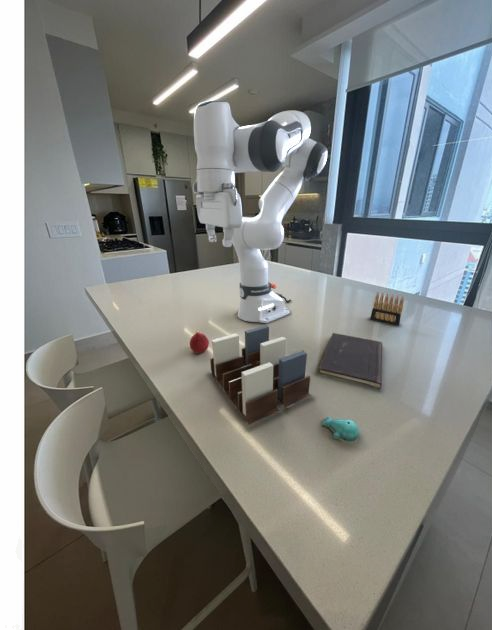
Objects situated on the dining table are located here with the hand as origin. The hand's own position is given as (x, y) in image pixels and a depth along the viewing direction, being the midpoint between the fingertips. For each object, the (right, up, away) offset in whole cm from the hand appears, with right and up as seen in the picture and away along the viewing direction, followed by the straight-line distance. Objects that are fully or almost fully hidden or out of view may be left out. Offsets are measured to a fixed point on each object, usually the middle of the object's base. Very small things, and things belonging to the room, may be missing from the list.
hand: (219, 244), depth 68 cm
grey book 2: (+18, -38, -4) cm, 42 cm away
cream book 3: (+14, -35, +2) cm, 38 cm away
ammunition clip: (+60, -21, +37) cm, 74 cm away
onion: (-8, -31, +15) cm, 35 cm away
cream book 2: (+10, -40, -8) cm, 42 cm away
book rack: (+10, -37, 0) cm, 38 cm away
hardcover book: (+39, -32, +12) cm, 52 cm away
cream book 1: (+2, -34, +4) cm, 35 cm away
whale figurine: (+27, -43, -13) cm, 53 cm away
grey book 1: (+10, -32, +9) cm, 35 cm away
